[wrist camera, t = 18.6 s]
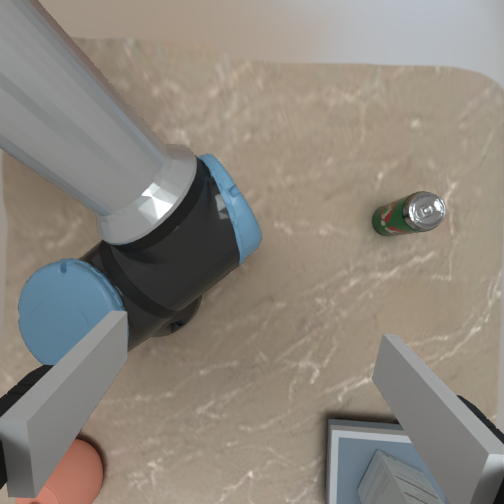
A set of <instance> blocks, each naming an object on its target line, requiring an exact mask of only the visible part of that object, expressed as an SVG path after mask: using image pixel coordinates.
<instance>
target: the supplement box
mask: <svg viewBox="0 0 504 504" xmlns="http://www.w3.org/2000/svg"><path fill="white" fill-rule="evenodd" d="M357 492H358V495H359V498H360V500H361V503H362V504H444V503H443V501H442V500H441V498H440V497H439V495H438V494H437V492H436V491H435V490H434V488H433V487H432V485H431V484H430V482H429V481H428V479H427V478H426V476H425V475H424V473H423V472H421V471H419V470H418V469H416V468H414V467H412V466H410V465H408V464H406V463H404V462H402V461H400V460H398V459H396V458H394V457H392V456H390V455H388V454H386V453H384V452H382V451H380V450H378V449H377V451H376V453H375V455H374V457H373V459H372V461H371V463H370V465H369V467H368V469H367V471H366V473H365V475H364V477H363V479H362V481H361V483H360V485H359V487H358V489H357Z"/></svg>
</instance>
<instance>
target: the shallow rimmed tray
mask: <svg viewBox="0 0 504 504" xmlns="http://www.w3.org/2000/svg"><path fill="white" fill-rule="evenodd" d="M377 449H378V450H380V451H382V452H384V453H386V454H388V455H390V456H392V457H394V458H396V459H398V460H400V461H402V462H404V463H406V464H408V465H410V466H412V467H414V468H416V469H418V470H419V471H421V472H423V473H424V475H425V476H426V478H427V479H428V481H429V482H430V484H431V485H432V487H433V488H434V490H435V491H436V492H437V494H438V495H439V497H440V498H441V500H442V501H443V503H444V504H450V502H449V501H448V499H447V497H446V496H445V494H444V493H443V491H442V490H441V488H440V486H439V485H438V483H437V482H436V480H435V478H434V477H433V475H432V474H431V472H430V471H429V469H428V467H427V466H426V464H425V463H424V461H423V459H422V458H421V456H420V455H419V453H418V451H417V450H416V448H415V447H414V445H413V444H412V442H411V440H410V439H409V437H408V436H407V434H406V432H405V431H404V429H403V428H402V426H401V424H388V423H375V422H362V421H349V420H346V419H344V418H334V419H328V445H327V473H326V501H325V504H362V503H361V500H360V498H359V495H358V492H357V489H358V487H359V485H360V483H361V481H362V479H363V477H364V475H365V473H366V471H367V469H368V467H369V465H370V463H371V461H372V459H373V457H374V455H375V453H376V451H377Z"/></svg>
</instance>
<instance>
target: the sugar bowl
mask: <svg viewBox="0 0 504 504" xmlns="http://www.w3.org/2000/svg"><path fill="white" fill-rule="evenodd" d="M102 481H103V469H102V463H101V460H100V457H99V455H98V453H97V451H96V450H95V449H94V448H93V447H92V446H91V445H90V444H88V443H87V442H85V441H82V440H79V439H74V441H73V442H72V444H71V445H70V447H69V448H68V450H67V451H66V453H65V454H64V456H63V457H62V459H61V460H60V462H59V463H58V465H57V467H56V468H55V470H54V471H53V473H52V474H51V476H50V477H49V479H48V480H47V482H46V483H45V485H44V486H43V488H42V489H41V491H40V492H39V494H38V495H37V497H36V498H17V497H16V502H15V504H91V503H92V502H93V501H94V500H95V498H96V497H97V495H98V494H99V491H100V489H101V485H102Z"/></svg>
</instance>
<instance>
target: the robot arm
mask: <svg viewBox="0 0 504 504" xmlns="http://www.w3.org/2000/svg"><path fill="white" fill-rule="evenodd" d="M0 148H1V149H2V150H4V151H5V152H7V153H8V154H10V155H11V156H12V157H14V158H15V159H17V160H18V161H20V162H21V163H23V164H24V165H26V166H27V167H28V168H30V169H31V170H33V171H34V172H36V173H37V174H39V175H40V176H41V177H43V178H44V179H46V180H47V181H49V182H50V183H52V184H53V185H55V186H56V187H57V188H59V189H60V190H62V191H63V192H65V193H66V194H68V195H69V196H70V197H72V198H73V199H75V200H76V201H78V202H79V203H81V204H82V205H84V206H85V207H86V208H88V209H89V210H91V211H92V212H94V213H95V215H96V220H97V229H98V233H99V236H100V237H101V238H102V239H103V240H102V241H100V242H99V243H98V244H97V245H96V246H94V247H93V248H92V249H91V250H90V251H88V252H87V253H86V254H85V255H84V256H82V257H81V258H79V259H61V260H60V261H57V262H54V263H50V264H48V265H46V266H44V267H42V268H40V269H39V270H37V271H36V272H35V273H34V274H33V275H32V276H31V277H30V278H29V280H28V281H27V282H26V284H25V286H24V288H23V290H22V292H21V295H20V298H19V303H18V310H19V314H20V317H19V320H18V323H19V328H20V332H21V335H22V338H23V340H24V342H25V344H26V346H27V347H28V349H29V351H30V352H31V353H32V355H33V356H34V357H35V358H36V359H37V360H38V361H39V362H40V363H41V364H43V366H41V367H39V368H37V369H35V370H34V371H32V372H30V373H28V374H27V375H26V376H25V377H24V378H23V379H22V380H21V381H19V382H18V383H17V385H15V386H14V387H13V388H12V389H10V390H9V391H8V393H7V394H5V395H4V396H3V397H1V398H0V489H1V488H2V487H3V486H4V484H5V483H7V490H8V497H17V498H36V497H37V495H38V494H39V492H40V491H41V489H42V488H43V486H44V485H45V483H46V482H47V480H48V479H49V477H50V476H51V474H52V473H53V471H54V470H55V468H56V467H57V465H58V463H59V462H60V460H61V459H62V457H63V456H64V454H65V453H66V451H67V450H68V448H69V447H70V445H71V444H72V442H73V441H74V439H75V438H76V436H77V435H78V433H79V432H80V430H81V429H82V427H83V426H84V424H85V423H86V421H87V420H88V418H89V417H90V415H91V414H92V412H93V411H94V409H95V408H96V406H97V405H98V403H99V402H100V400H101V399H102V397H103V396H104V394H105V393H106V391H107V390H108V388H109V387H110V385H111V384H112V382H113V381H114V379H115V378H116V376H117V375H118V373H119V372H120V370H121V369H122V367H123V366H124V364H125V363H126V361H127V353H128V352H129V351H131V350H132V349H133V348H135V347H136V346H138V345H139V344H141V343H142V342H143V341H145V340H146V339H148V338H149V337H160V336H165V335H169V334H171V333H174V332H176V331H178V330H179V329H181V328H182V327H183V326H184V325H186V324H187V323H188V322H189V321H190V320H191V319H192V318H193V316H194V315H195V313H196V312H197V310H198V308H199V305H200V302H201V297H202V294H203V293H204V292H206V291H207V290H208V289H210V288H211V287H212V286H213V285H215V284H216V283H217V282H219V281H220V280H221V279H222V278H224V277H225V276H226V275H228V274H229V273H230V272H231V271H233V270H234V269H235V268H237V267H239V266H240V265H241V264H242V263H243V261H244V260H245V259H246V258H247V257H248V256H249V255H250V254H251V253H253V252H254V251H255V250H256V249H257V248H258V247H259V245H260V243H261V239H262V233H261V229H260V227H259V224H258V222H257V220H256V218H255V216H254V214H253V212H252V210H251V208H250V207H249V205H248V203H247V201H246V200H245V198H244V197H243V195H242V194H241V192H240V191H239V190H238V189H237V186H236V185H235V183H234V181H233V180H232V178H231V176H230V175H229V174H228V172H227V171H226V169H225V168H224V167H223V165H222V164H221V163H220V162H219V161H218V159H217V158H216V157H214V156H213V155H212V154H209V153H207V154H205V155H201V156H199V157H198V158H197V157H196V155H195V154H194V153H193V152H192V150H191V149H190V148H188V147H186V146H184V145H176V144H164V143H163V142H162V141H161V140H160V139H159V137H158V136H157V135H156V134H155V133H154V132H153V131H152V129H151V128H150V127H149V126H148V125H147V124H146V123H145V121H144V120H143V119H142V118H141V117H140V116H139V115H138V114H137V112H136V111H135V110H134V109H133V108H132V107H131V106H130V104H129V103H128V102H127V101H126V100H125V99H124V98H123V97H122V95H121V94H120V93H119V92H118V91H117V90H116V89H115V87H114V86H113V85H112V84H111V83H110V82H109V81H108V79H107V78H106V77H105V76H104V75H103V74H102V73H101V72H100V70H99V69H98V68H97V67H96V66H95V65H94V64H93V62H92V61H91V60H90V59H89V58H88V57H87V56H86V55H85V53H84V52H83V51H82V50H81V49H80V48H79V47H78V45H77V44H76V43H75V42H74V41H73V40H72V39H71V37H70V36H69V35H68V34H67V33H66V32H65V31H64V30H63V28H62V27H61V26H60V25H59V24H58V23H57V22H56V20H55V19H54V18H53V17H52V16H51V15H50V14H49V13H48V11H46V9H45V8H44V7H43V6H42V5H41V3H40V2H39V1H38V0H0ZM372 380H373V382H374V383H375V385H376V386H377V388H378V390H379V391H380V393H381V394H382V396H383V397H384V399H385V401H386V402H387V404H388V405H389V407H390V409H391V410H392V412H393V413H394V415H395V417H396V418H397V420H398V421H399V423H400V424H401V426H402V428H403V429H404V431H405V432H406V434H407V436H408V437H409V439H410V440H411V442H412V444H413V445H414V447H415V448H416V450H417V451H418V453H419V455H420V456H421V458H422V459H423V461H424V463H425V464H426V466H427V467H428V469H429V471H430V472H431V474H432V475H433V477H434V478H435V480H436V482H437V483H438V485H439V486H440V488H441V490H442V491H443V493H444V494H445V496H446V497H447V499H448V501H449V502H450V504H504V434H503V433H502V432H501V431H500V430H499V429H496V426H495V425H494V424H493V423H492V422H491V421H490V420H489V419H486V416H485V415H484V414H483V413H482V412H481V411H480V410H479V409H478V408H477V407H476V406H475V405H473V404H472V403H470V402H469V401H467V400H466V399H464V398H463V397H461V396H459V395H455V394H454V393H453V392H452V391H451V390H450V389H449V388H448V387H447V386H446V385H445V384H444V383H443V382H442V381H441V379H440V378H439V377H438V376H437V375H436V374H435V373H434V372H433V371H432V370H431V369H430V368H429V367H428V366H427V365H426V364H425V363H424V362H423V361H422V360H421V359H420V358H419V357H418V356H417V355H416V354H415V353H414V352H413V351H412V350H411V349H410V348H409V347H408V346H407V345H406V344H405V342H404V341H403V340H402V339H401V338H400V337H399V336H398V335H393V334H383V335H382V339H381V343H380V347H379V351H378V355H377V359H376V363H375V368H374V372H373V376H372Z"/></svg>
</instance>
